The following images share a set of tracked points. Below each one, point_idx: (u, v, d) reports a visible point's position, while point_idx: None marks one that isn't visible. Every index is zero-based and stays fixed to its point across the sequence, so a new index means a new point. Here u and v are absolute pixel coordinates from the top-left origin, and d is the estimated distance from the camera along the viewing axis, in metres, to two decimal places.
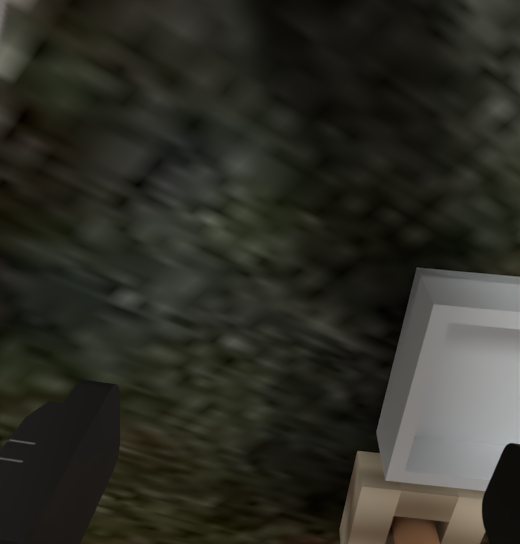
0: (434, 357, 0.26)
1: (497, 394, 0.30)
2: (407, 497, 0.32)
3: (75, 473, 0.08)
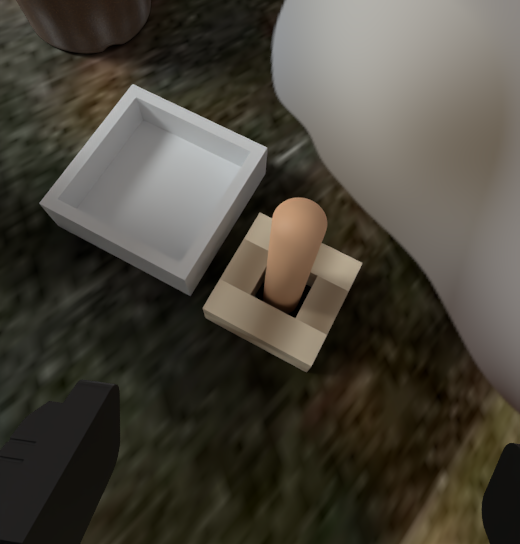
0: (80, 213, 0.37)
1: (175, 199, 0.41)
2: (229, 276, 0.37)
3: (75, 473, 0.08)
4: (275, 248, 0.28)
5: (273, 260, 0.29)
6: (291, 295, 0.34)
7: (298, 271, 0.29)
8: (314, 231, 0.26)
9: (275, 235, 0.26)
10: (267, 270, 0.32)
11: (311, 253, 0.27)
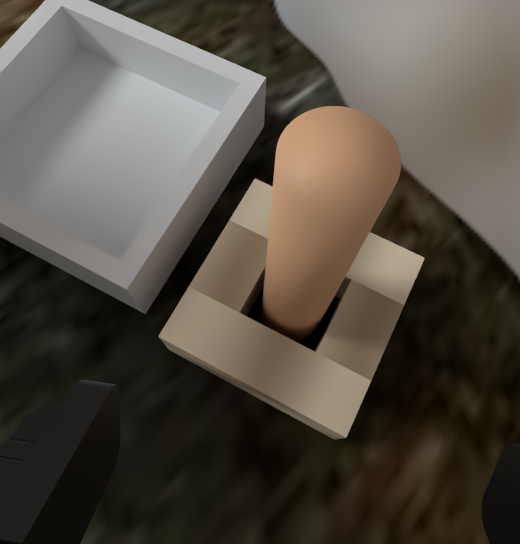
0: None
1: (124, 163, 0.26)
2: (205, 282, 0.22)
3: (74, 472, 0.08)
4: (283, 221, 0.13)
5: (279, 249, 0.15)
6: (310, 314, 0.19)
7: (328, 271, 0.15)
8: (372, 178, 0.11)
9: (284, 187, 0.11)
10: (267, 270, 0.18)
11: (362, 230, 0.12)
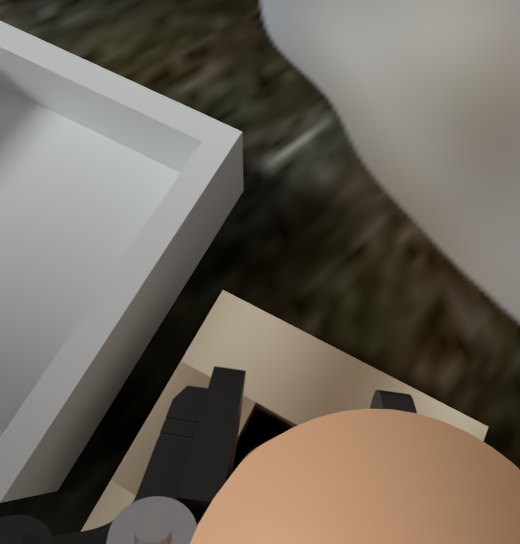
0: None
1: (37, 252, 0.18)
2: (137, 472, 0.14)
3: (232, 447, 0.09)
4: None
5: None
6: None
7: None
8: None
9: None
10: None
11: None
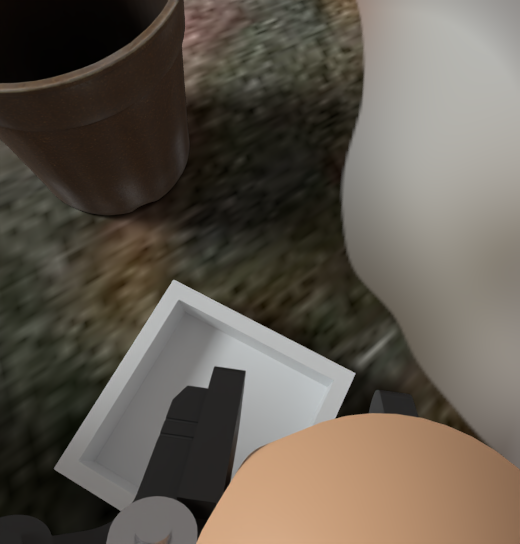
0: (108, 484, 0.27)
1: None
2: None
3: (232, 448, 0.09)
4: None
5: None
6: None
7: None
8: None
9: None
10: None
11: None
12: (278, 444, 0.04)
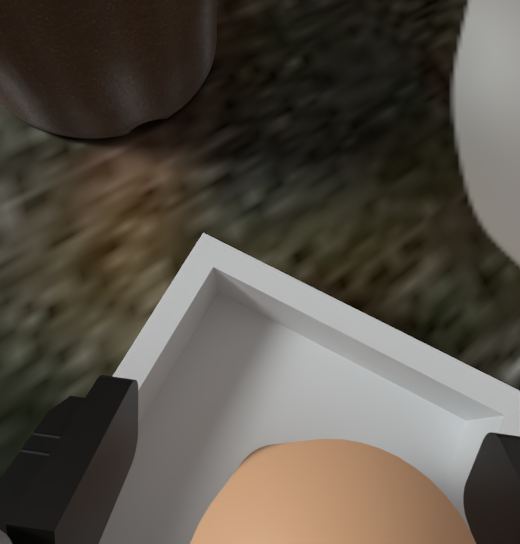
0: None
1: None
2: None
3: (99, 465, 0.08)
4: None
5: None
6: None
7: None
8: None
9: None
10: None
11: None
12: (254, 462, 0.05)
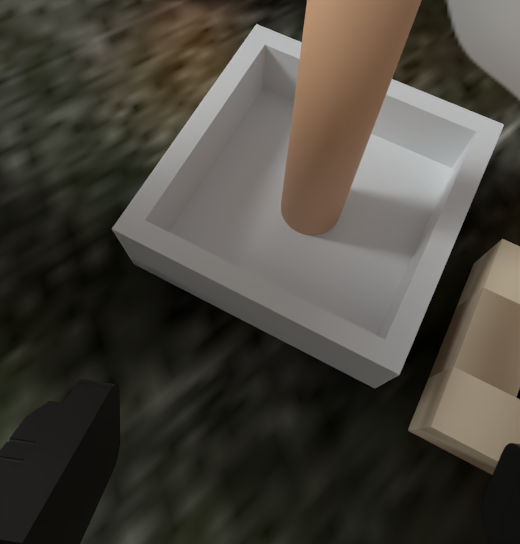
0: (187, 246, 0.20)
1: None
2: (470, 361, 0.20)
3: (75, 473, 0.08)
4: (322, 5, 0.12)
5: (312, 61, 0.14)
6: (336, 177, 0.19)
7: (364, 85, 0.14)
8: None
9: None
10: (294, 118, 0.17)
11: (406, 5, 0.12)
12: None
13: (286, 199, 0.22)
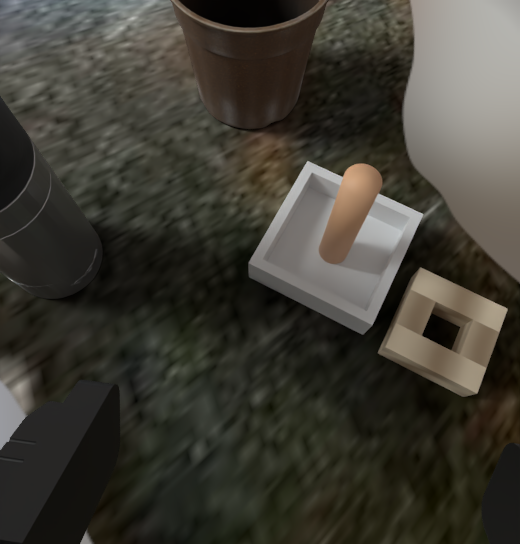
0: (282, 271, 0.46)
1: None
2: (403, 321, 0.46)
3: (74, 473, 0.08)
4: (343, 200, 0.39)
5: (339, 211, 0.40)
6: (346, 243, 0.45)
7: (357, 220, 0.40)
8: (373, 186, 0.37)
9: (346, 189, 0.37)
10: (330, 223, 0.43)
11: (370, 203, 0.38)
12: None
13: (323, 248, 0.48)
